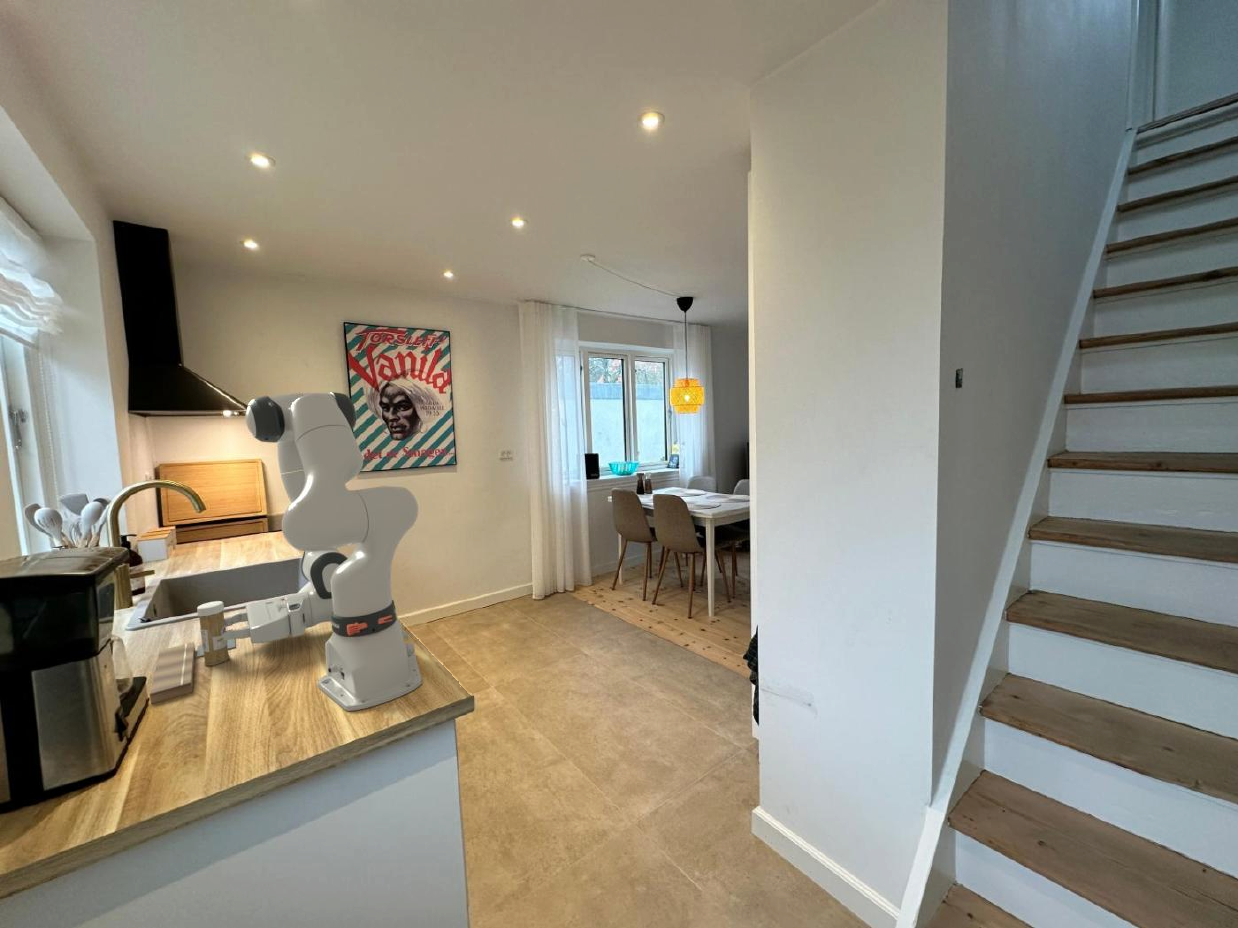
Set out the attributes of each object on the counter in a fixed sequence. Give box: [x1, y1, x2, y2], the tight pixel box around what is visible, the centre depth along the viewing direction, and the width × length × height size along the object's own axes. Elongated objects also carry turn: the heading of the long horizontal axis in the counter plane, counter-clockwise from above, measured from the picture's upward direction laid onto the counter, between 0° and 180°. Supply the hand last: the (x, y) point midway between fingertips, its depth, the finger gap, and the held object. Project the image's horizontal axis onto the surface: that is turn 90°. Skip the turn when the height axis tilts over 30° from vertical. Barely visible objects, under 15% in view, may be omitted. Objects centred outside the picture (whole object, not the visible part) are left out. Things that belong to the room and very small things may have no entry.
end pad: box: [196, 639, 237, 658], centre depth 118 cm, size 7×7×1 cm
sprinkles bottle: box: [196, 600, 230, 667], centre depth 110 cm, size 5×5×13 cm
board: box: [149, 641, 196, 705], centre depth 106 cm, size 24×6×2 cm, turn 40°
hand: (222, 629), depth 111 cm, fingers open, 8 cm apart
